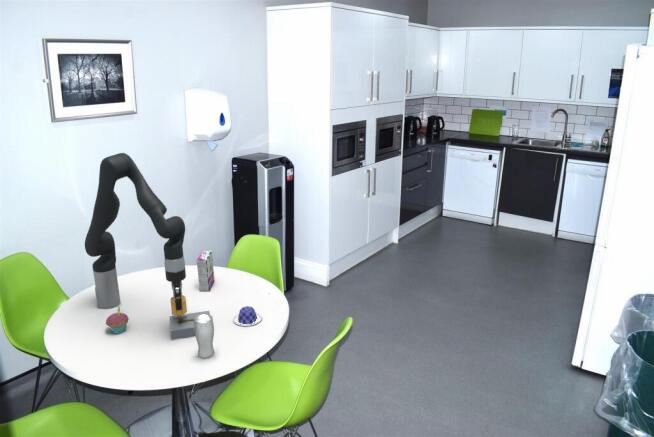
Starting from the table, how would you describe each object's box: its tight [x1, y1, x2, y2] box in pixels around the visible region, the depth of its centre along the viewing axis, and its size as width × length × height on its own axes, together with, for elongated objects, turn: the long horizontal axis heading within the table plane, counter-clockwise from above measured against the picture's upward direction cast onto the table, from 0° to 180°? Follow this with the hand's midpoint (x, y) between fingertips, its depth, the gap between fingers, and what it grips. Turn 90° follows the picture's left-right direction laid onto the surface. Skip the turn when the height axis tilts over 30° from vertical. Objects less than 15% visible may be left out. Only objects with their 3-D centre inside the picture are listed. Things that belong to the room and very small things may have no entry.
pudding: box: [232, 305, 263, 327], centre depth 218 cm, size 12×12×5 cm
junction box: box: [169, 310, 211, 341], centre depth 211 cm, size 16×12×5 cm
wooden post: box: [177, 315, 183, 323], centre depth 208 cm, size 2×2×9 cm
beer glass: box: [194, 314, 215, 359], centre depth 192 cm, size 7×7×15 cm
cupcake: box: [105, 305, 130, 334], centre depth 209 cm, size 9×8×12 cm
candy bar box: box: [196, 250, 215, 292], centre depth 246 cm, size 11×5×16 cm, turn 179°
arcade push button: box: [169, 294, 188, 316], centre depth 207 cm, size 6×6×7 cm
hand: (178, 304), depth 207 cm, fingers open, 8 cm apart
